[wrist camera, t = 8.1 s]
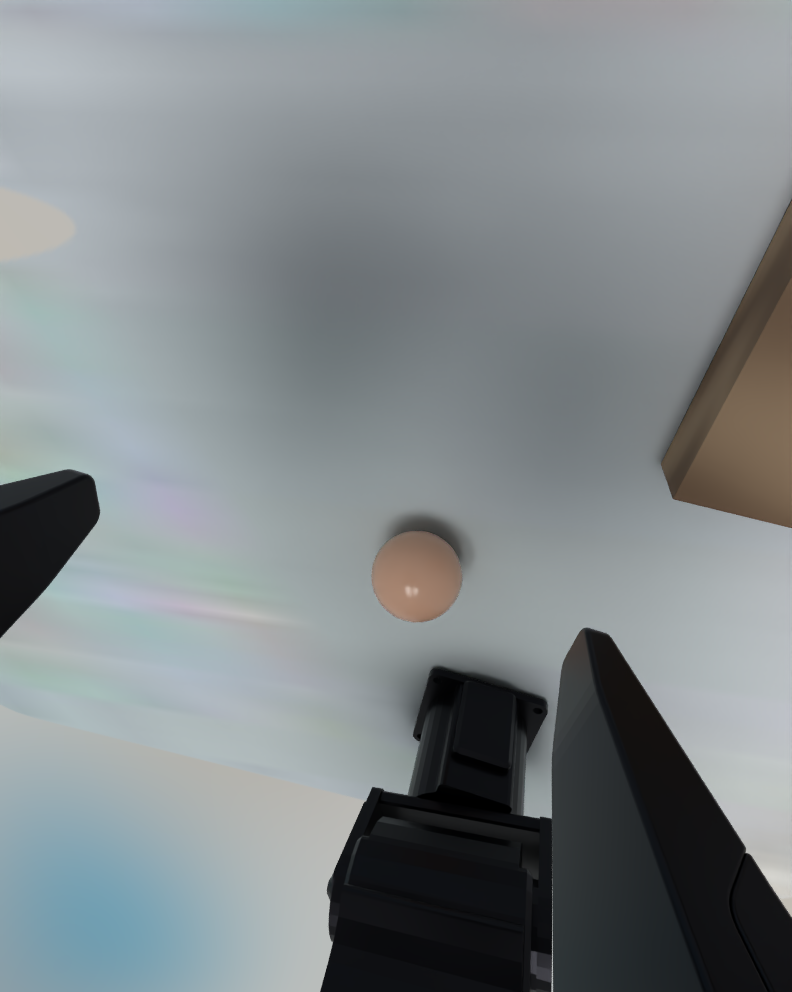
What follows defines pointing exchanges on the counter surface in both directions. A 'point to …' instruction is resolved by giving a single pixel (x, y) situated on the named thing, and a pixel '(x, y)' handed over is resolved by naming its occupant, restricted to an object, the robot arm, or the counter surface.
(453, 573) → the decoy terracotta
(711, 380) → the brown recessed board
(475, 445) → the counter surface
